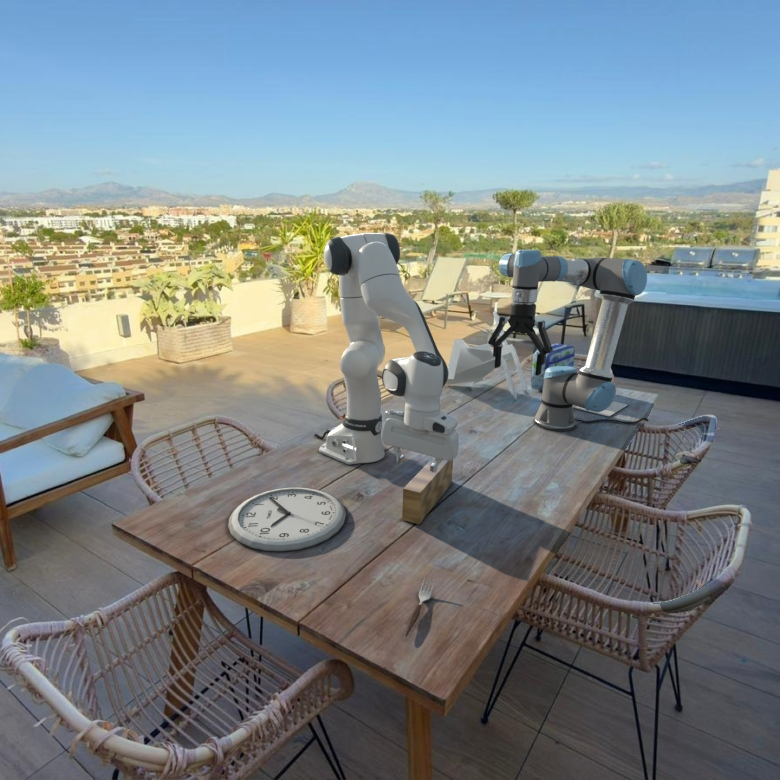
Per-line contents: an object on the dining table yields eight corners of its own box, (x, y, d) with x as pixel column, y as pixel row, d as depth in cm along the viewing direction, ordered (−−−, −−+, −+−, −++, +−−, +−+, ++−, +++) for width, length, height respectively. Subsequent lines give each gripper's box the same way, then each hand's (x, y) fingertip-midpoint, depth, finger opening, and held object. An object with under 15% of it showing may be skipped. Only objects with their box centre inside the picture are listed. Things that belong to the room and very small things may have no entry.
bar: (436, 479, 158) (438, 452, 156) (451, 483, 156) (453, 455, 154) (402, 520, 136) (402, 488, 134) (419, 524, 134) (420, 492, 132)
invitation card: (608, 416, 214) (573, 407, 224) (608, 416, 214) (573, 408, 224) (628, 404, 229) (594, 396, 238) (628, 405, 229) (594, 397, 238)
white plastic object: (461, 429, 252) (437, 405, 227) (444, 352, 274) (420, 323, 250) (535, 404, 240) (518, 377, 215) (510, 326, 262) (492, 293, 237)
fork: (398, 636, 97) (399, 628, 97) (423, 584, 111) (423, 576, 111) (412, 640, 96) (412, 631, 96) (435, 587, 111) (435, 579, 110)
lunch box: (547, 395, 239) (552, 351, 233) (526, 390, 247) (530, 347, 240) (574, 384, 257) (579, 343, 251) (554, 380, 264) (558, 339, 258)
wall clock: (346, 543, 123) (215, 547, 120) (346, 549, 123) (215, 553, 121) (345, 483, 151) (239, 485, 149) (345, 488, 152) (240, 490, 149)
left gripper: (379, 411, 133) (375, 460, 137) (455, 430, 124) (448, 481, 129) (389, 404, 138) (386, 452, 142) (463, 422, 130) (457, 472, 134)
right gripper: (480, 300, 162) (476, 366, 168) (559, 308, 148) (551, 380, 154) (491, 297, 168) (486, 361, 174) (568, 305, 153) (560, 375, 160)
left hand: (416, 466), depth 136 cm, fingers open, 8 cm apart
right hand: (517, 370), depth 164 cm, fingers open, 13 cm apart
